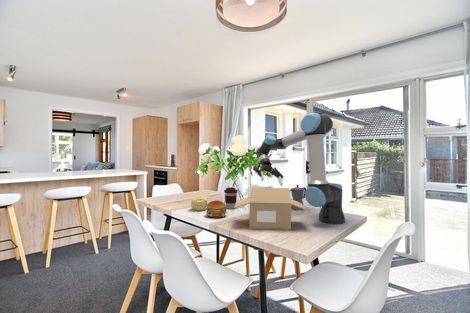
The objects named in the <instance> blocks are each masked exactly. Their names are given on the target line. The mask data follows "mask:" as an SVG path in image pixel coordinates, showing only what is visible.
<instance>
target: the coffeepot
mask: <svg viewBox="0 0 470 313" xmlns="http://www.w3.org/2000/svg"><path fill="white" fill-rule="evenodd" d="M299 186H300V185H299V184H296V187H292V188H289V191H291V198H292V200H295V201H297V202H300V203H301V204H302V205H303V206H304V201H303V199H306V198H305V191H306V190H307V188H306V187H305V186H304V187H299ZM291 210H293V211H303V210H304V209H301V208H299V207H296V206H294V205H291Z"/></svg>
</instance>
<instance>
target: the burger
mask: <svg viewBox="0 0 470 313" xmlns="http://www.w3.org/2000/svg"><path fill="white" fill-rule="evenodd" d="M205 211H206V215H207V217H208V218H215V219H216V218H223V217H225V216H226V214H227V213H228V211H227V207H226V203H225V202H224V201H222V200H212V201H209V202H207V207H206V209H205Z"/></svg>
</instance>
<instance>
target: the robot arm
mask: <svg viewBox="0 0 470 313" xmlns="http://www.w3.org/2000/svg"><path fill="white" fill-rule="evenodd" d="M333 127H334V121H333V120H332V118H331V117H330V116H328V115H325V114H322V113H321V114H320V113H316V112H309V113H307V114H305V115H304V116H303V117H302V119H301V120H300V128H301V129H298V130H296V131H295V132H292V133H290V134H288V135H285V136H282V137H281V138H276V137H275V136H274V135H271V134H267V135H266V137H265V138H264V139H263V142H262V144H261V145H260V146H259V147H257V148H256V151H255V153H256V157H257V159H258V163H257V166H256V168H255V171H254V173H255V174H256V173H257V175H258V176H259V177H260V180H261V182H263V181H264V180H265V175H264V173H263V172H264V171H265V172H268V173H270V174H272V175H273V176H274V177H275V178H276V179H277V182H278V185H279V186H280V187H282V185H283V184H284V181H283V178H284V175H283V174H282V173H281V172H280V171H279V170H278V169H277V167H276V166H274V167H273V166H272V162H271V159H270V156H269V154H270V152H271V150H286V149H288V147H290V146H293V145H296V144H298V143H300V142H303V141H307V143H308V144H307V145H308V147H307V148H308V159H309V160H308V162H309V176H310V180H309V181H308V183H307V185H308V186H307V188H306V189H307V190H306V191H305V190H304V191H305V198H304V199H305V201H306V202H307V203H308V204H309V205H310V206H312V207H313V208H314V207H315V208H320V210H319V214H318V220H319V221H321V222H323V223H328V224H334V225H335V224H345V223H346V216H345V212H344V210H343V186H342V184H341V183H335V182H334V183H333V182H329V181H328V180H327V176H326V174H327V171H326V160H325V144H324V143H325V141H324V139H325V137H326V136H327V134H329V133H330V132H331V131H332V129H333Z"/></svg>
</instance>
